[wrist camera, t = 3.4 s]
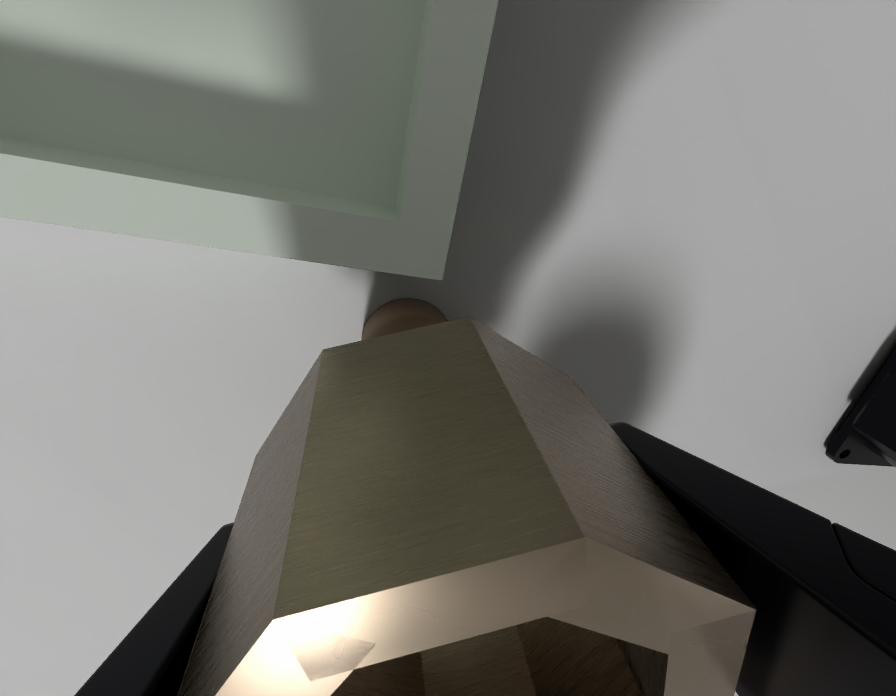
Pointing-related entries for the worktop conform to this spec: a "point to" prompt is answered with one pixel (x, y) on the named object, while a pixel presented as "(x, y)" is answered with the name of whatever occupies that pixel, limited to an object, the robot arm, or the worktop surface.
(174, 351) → the worktop surface
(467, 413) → the ring
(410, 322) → the brown rounded nub
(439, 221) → the tray
